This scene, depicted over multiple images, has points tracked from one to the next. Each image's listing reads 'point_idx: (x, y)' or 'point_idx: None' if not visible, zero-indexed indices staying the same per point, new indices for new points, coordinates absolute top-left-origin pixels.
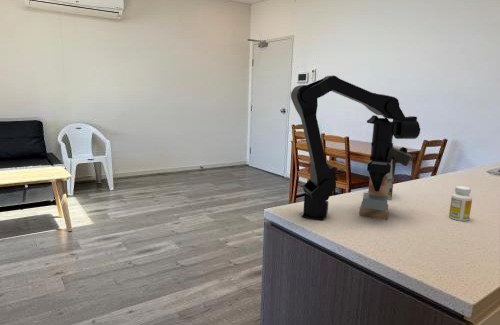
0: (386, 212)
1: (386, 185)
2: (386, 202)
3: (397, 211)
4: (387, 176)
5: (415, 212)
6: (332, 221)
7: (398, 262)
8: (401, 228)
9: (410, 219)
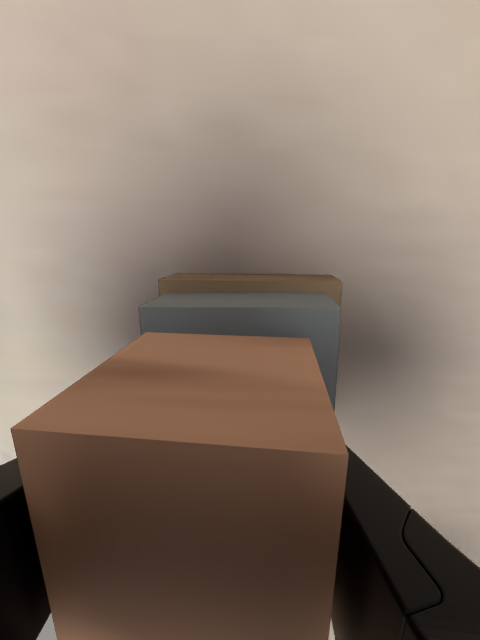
0: (339, 290)
1: (325, 392)
2: (337, 311)
3: (136, 214)
4: (68, 435)
5: (97, 94)
6: (450, 526)
7: None
8: (461, 190)
9: (260, 130)
